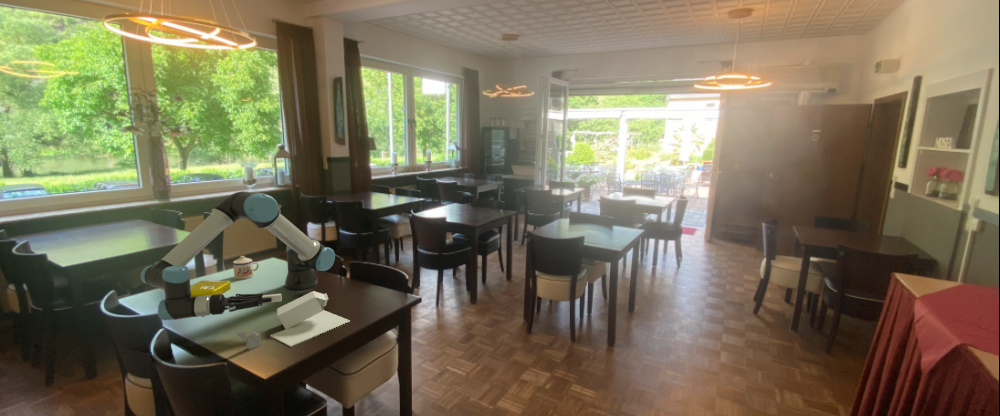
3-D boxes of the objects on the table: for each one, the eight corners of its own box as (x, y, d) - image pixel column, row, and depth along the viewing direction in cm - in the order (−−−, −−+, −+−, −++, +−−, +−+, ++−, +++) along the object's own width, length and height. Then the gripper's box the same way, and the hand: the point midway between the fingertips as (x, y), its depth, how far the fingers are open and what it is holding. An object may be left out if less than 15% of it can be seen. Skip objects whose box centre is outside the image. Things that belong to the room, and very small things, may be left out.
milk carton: (277, 316, 162) (324, 292, 170) (276, 308, 168) (322, 286, 176) (285, 330, 165) (332, 306, 172) (284, 322, 171) (329, 299, 178)
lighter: (258, 343, 154) (256, 323, 153) (260, 345, 153) (259, 324, 152) (238, 351, 148) (236, 330, 147) (240, 353, 147) (238, 332, 146)
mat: (320, 309, 185) (320, 308, 185) (350, 321, 173) (350, 320, 173) (260, 331, 163) (260, 330, 163) (290, 347, 152) (290, 345, 152)
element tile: (232, 288, 209) (231, 279, 208) (213, 299, 194) (212, 290, 193) (202, 288, 208) (201, 279, 207) (180, 299, 194) (179, 290, 193)
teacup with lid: (236, 281, 218) (234, 259, 216) (232, 276, 225) (230, 256, 223) (261, 276, 226) (260, 255, 225) (257, 272, 233) (255, 252, 231)
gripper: (216, 307, 163) (283, 300, 171) (207, 321, 151) (279, 312, 159) (214, 289, 162) (282, 283, 170) (205, 302, 150) (278, 294, 158)
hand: (281, 297), depth 165 cm, fingers closed
